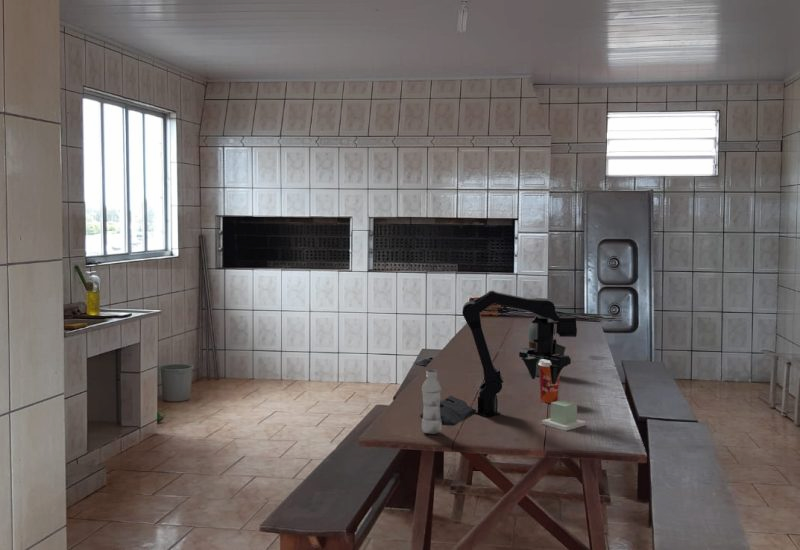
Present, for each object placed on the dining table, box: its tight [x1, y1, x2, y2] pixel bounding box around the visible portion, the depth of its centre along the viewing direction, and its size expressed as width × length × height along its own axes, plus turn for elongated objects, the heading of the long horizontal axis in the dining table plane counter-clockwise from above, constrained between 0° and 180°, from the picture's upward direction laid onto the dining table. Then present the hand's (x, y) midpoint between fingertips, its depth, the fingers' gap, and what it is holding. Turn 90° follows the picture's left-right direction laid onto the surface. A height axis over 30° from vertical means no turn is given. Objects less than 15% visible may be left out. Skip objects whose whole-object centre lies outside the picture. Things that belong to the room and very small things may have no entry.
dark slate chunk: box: [419, 395, 477, 426], centre depth 279 cm, size 15×22×5 cm
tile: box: [541, 417, 586, 432], centre depth 267 cm, size 10×10×1 cm
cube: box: [549, 399, 578, 424], centre depth 267 cm, size 6×6×6 cm
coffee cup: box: [538, 359, 561, 404], centre depth 297 cm, size 8×8×15 cm
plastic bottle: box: [421, 369, 443, 435], centre depth 257 cm, size 6×7×20 cm
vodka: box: [527, 314, 545, 377], centre depth 341 cm, size 9×9×30 cm
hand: (543, 381), depth 277 cm, fingers open, 9 cm apart
